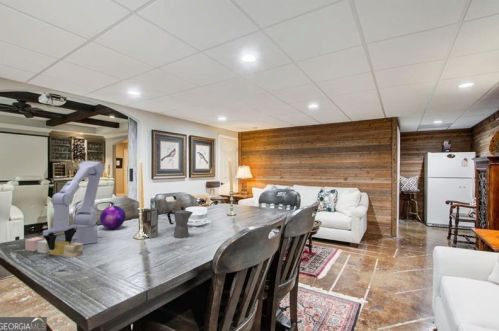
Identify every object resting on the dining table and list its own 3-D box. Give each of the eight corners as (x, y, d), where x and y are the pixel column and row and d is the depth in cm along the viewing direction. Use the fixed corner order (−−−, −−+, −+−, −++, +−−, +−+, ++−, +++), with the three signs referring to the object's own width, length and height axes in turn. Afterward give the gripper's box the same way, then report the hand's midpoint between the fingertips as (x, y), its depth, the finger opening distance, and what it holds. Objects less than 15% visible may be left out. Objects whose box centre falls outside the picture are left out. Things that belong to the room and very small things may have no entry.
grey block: (48, 249, 123) (48, 238, 123) (56, 250, 122) (56, 240, 122) (37, 252, 118) (37, 241, 118) (45, 253, 117) (45, 242, 117)
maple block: (73, 253, 119) (74, 242, 119) (82, 254, 117) (82, 243, 117) (63, 256, 114) (64, 245, 114) (72, 258, 113) (72, 247, 113)
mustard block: (60, 251, 121) (61, 240, 121) (68, 252, 120) (69, 241, 120) (50, 254, 116) (50, 243, 116) (58, 255, 115) (58, 244, 115)
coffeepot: (192, 234, 159) (193, 205, 160) (192, 238, 150) (193, 208, 150) (167, 234, 156) (168, 205, 156) (165, 238, 147) (166, 208, 147)
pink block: (36, 247, 125) (36, 237, 125) (43, 248, 124) (44, 238, 124) (25, 250, 121) (25, 239, 121) (32, 251, 119) (33, 240, 119)
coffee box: (158, 235, 152) (159, 209, 153) (150, 238, 146) (151, 211, 146) (145, 234, 155) (146, 208, 156) (138, 236, 149) (139, 209, 149)
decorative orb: (93, 230, 160) (94, 207, 160) (110, 225, 175) (111, 203, 175) (114, 232, 157) (115, 208, 157) (129, 226, 172) (130, 205, 172)
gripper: (69, 215, 126) (68, 242, 126) (38, 220, 112) (36, 250, 112) (80, 216, 124) (79, 243, 124) (50, 221, 110) (48, 252, 110)
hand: (59, 247), depth 118 cm, fingers open, 7 cm apart
